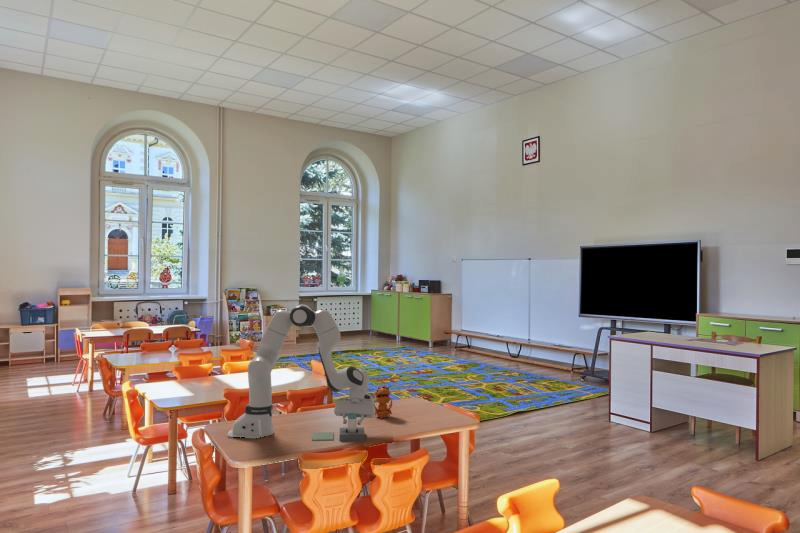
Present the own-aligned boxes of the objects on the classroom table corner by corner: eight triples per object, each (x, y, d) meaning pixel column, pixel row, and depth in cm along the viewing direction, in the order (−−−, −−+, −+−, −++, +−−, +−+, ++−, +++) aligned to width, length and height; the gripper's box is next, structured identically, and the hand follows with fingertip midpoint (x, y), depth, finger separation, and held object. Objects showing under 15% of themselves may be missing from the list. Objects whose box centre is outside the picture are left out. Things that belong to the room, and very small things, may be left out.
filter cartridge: (347, 438, 264) (347, 415, 265) (347, 435, 269) (347, 413, 269) (356, 438, 265) (356, 415, 265) (356, 435, 269) (356, 413, 269)
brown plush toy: (375, 419, 304) (375, 387, 304) (371, 415, 314) (371, 383, 314) (394, 418, 307) (395, 386, 307) (389, 414, 317) (390, 383, 317)
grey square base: (339, 442, 260) (339, 434, 260) (339, 435, 272) (339, 427, 272) (364, 442, 261) (364, 434, 261) (363, 435, 273) (363, 427, 273)
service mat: (311, 442, 260) (312, 439, 260) (313, 435, 272) (313, 432, 272) (333, 442, 261) (333, 439, 261) (333, 435, 273) (333, 432, 273)
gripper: (335, 394, 276) (329, 419, 266) (375, 396, 272) (371, 421, 263) (338, 401, 280) (332, 425, 270) (377, 403, 277) (372, 428, 267)
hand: (351, 423), depth 266 cm, fingers open, 6 cm apart
